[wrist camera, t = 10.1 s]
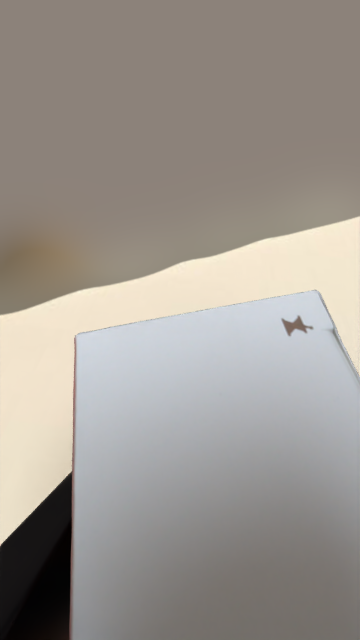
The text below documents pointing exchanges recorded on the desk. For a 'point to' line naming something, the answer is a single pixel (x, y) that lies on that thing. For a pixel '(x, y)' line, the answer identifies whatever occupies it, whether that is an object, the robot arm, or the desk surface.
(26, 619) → the robot arm
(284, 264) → the desk surface
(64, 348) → the desk surface
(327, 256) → the desk surface
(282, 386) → the small box
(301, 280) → the desk surface
